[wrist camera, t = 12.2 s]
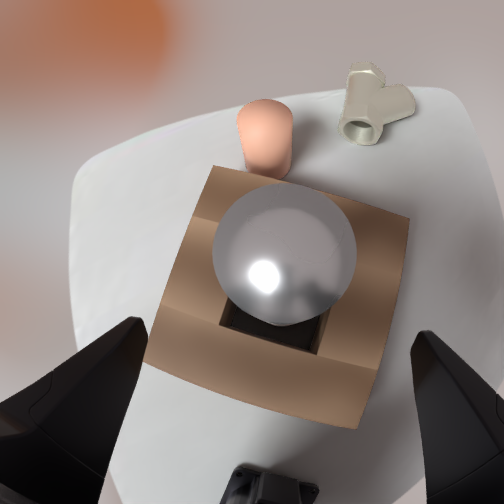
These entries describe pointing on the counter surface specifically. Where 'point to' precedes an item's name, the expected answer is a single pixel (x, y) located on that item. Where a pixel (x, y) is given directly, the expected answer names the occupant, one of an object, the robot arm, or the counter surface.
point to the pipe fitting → (371, 104)
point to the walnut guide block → (271, 351)
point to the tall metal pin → (284, 253)
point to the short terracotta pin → (266, 137)
